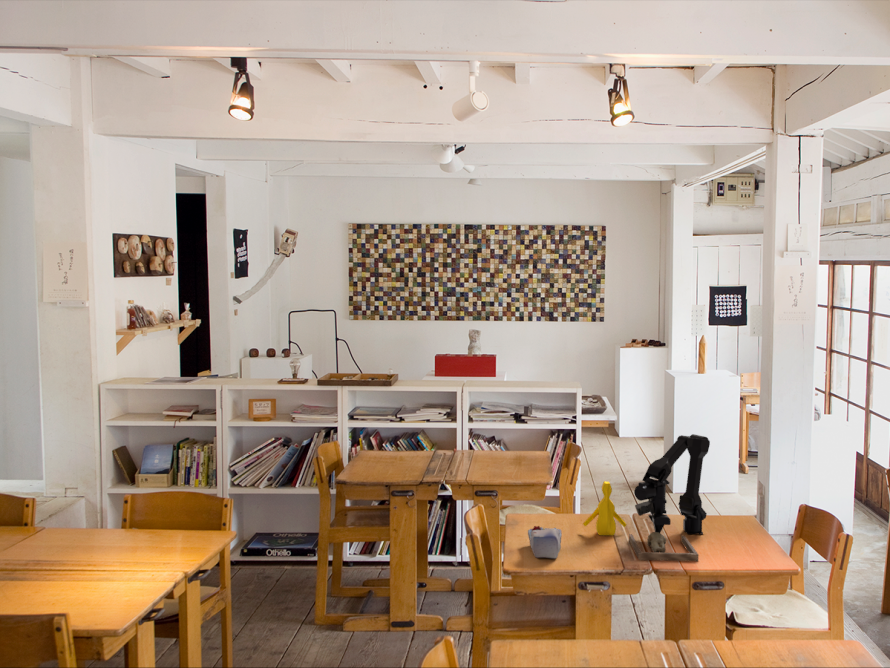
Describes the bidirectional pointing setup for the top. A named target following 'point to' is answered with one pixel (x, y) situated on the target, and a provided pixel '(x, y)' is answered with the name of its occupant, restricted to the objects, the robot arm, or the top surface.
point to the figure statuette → (605, 514)
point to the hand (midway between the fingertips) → (657, 535)
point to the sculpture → (656, 542)
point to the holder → (666, 556)
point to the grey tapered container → (545, 541)
